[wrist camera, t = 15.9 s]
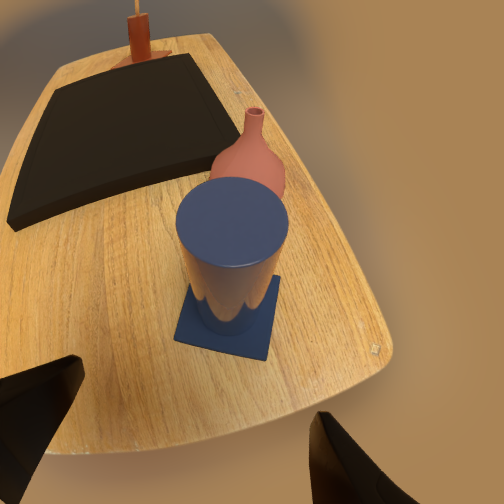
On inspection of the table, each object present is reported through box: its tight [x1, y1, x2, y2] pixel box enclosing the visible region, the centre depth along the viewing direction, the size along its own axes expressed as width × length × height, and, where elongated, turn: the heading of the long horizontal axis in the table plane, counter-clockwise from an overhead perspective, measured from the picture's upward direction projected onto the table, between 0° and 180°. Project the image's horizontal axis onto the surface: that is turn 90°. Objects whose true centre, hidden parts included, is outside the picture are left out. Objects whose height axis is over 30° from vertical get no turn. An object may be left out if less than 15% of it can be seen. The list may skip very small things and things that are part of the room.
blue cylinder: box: [176, 177, 289, 336], centre depth 18 cm, size 5×5×13 cm
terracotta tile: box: [111, 50, 172, 70], centre depth 52 cm, size 12×12×1 cm
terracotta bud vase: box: [209, 107, 285, 199], centre depth 25 cm, size 8×8×12 cm
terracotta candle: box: [127, 0, 151, 62], centre depth 44 cm, size 5×5×18 cm
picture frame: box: [7, 53, 241, 232], centre depth 38 cm, size 40×2×33 cm
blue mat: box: [174, 275, 280, 361], centre depth 24 cm, size 8×8×1 cm
